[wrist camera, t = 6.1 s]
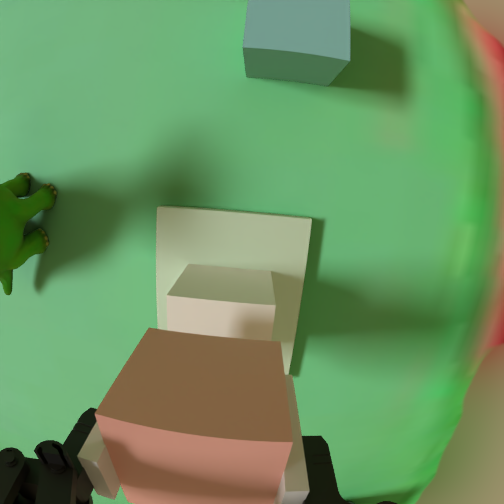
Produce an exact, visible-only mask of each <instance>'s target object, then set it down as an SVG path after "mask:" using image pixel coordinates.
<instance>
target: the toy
mask: <svg viewBox="0 0 504 504" xmlns="http://www.w3.org/2000/svg"><path fill="white" fill-rule="evenodd" d="M29 189H30V177H29V176H28V174H27V173H20V174H18V175H17V176H16V177H15V178H14V179H12V180H9V181H7V182H5V183H3V184H0V281H1V283H2V284H3V289H4V292H5V294H6V295H10V294H11V292H12V280H13V269H17V268H18V267H20V266H21V265H22V264H24V263H25V261H26V260H27V259H28V258H29V257H31V256H33V255H35V254H41V253H43V252H44V251H45V250H46V247H47V246H48V245H49V242H48V240H47V236H46V235H45V232H44V231H42V230H41V229H37V230H34V231H32V232H31V233H29V234H26V235H24V234H23V231H24V227H25V225H26V223H27V222H28V221H29V220H30V219H31V218H32V217H33V216H35V215H36V214H37V213H39V212H40V211H41V210H49V209H51V208H52V207H53V206H54V203H55V199H56V194H57V192H56V191H55V189H54V187H53V186H51V185H50V184H49V183H48V184H43V185H42V186H41V188H40V189H39V190H38V191H37V192H36V193H34V194H33V195H31V196H30V197H29V198H26V199H19V198H21V197H24V196H26V195H27V193H28V192H29Z"/></svg>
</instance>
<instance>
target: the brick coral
mask: <svg viewBox="0 0 504 504" xmlns="http://www.w3.org/2000/svg"><path fill="white" fill-rule="evenodd" d="M95 417H96V420H97V423H98V426H99V429H100V432H101V435H102V438H103V441H104V444H105V445H106V447H107V450H108V453H109V456H110V458H111V461H112V463H113V466H114V469H115V471H116V474H117V476H118V478H119V481H120V483H121V487H122V489H123V492H124V494H125V496H126V498H127V501H128V502H130V503H134V504H273V503H274V500H275V497H276V494H277V491H278V488H279V485H280V482H281V478H282V475H283V472H284V471H285V468H286V464H287V461H288V458H289V454H290V451H291V447H292V444H293V438H292V430H291V421H290V413H289V405H288V396H287V388H286V380H285V372H284V364H283V357H282V349H281V342H280V341H265V340H251V339H240V338H229V337H219V336H209V335H200V334H192V333H184V332H176V331H168V330H161V329H154V328H148V330H147V331H146V333H145V334H144V336H143V338H142V339H141V341H140V342H139V344H138V345H137V347H136V348H135V350H134V351H133V353H132V354H131V356H130V358H129V359H128V361H127V362H126V364H125V365H124V367H123V369H122V370H121V372H120V373H119V375H118V376H117V378H116V380H115V381H114V383H113V384H112V386H111V388H110V389H109V391H108V392H107V394H106V396H105V397H104V399H103V401H102V402H101V404H100V405H99V407H98V409H97V410H96V412H95Z"/></svg>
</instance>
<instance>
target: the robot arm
mask: <svg viewBox="0 0 504 504" xmlns="http://www.w3.org/2000/svg"><path fill="white" fill-rule="evenodd" d="M285 380H286V388H287V396H288V405H289V413H290V421H291V430H292V438H293V444H292V447H291V451H290V454H289V458H288V461H287V464H286V468H285V471H284V472H283V475H282V478H281V482H280V485H279V488H278V491H277V494H276V497H275V500H274V503H273V504H351V503H349V502H347V501H345V500H344V499H343V498H342V497H341V496H340V494H339V491H338V487H337V483H336V478H335V473H334V469H333V464H332V460H331V456H330V451H329V447H328V444H327V443H326V441H325V440H324V439H323V438H322V436H302V435H301V428H300V422H299V415H298V409H297V402H296V396H295V389H294V383H293V377H292V375H285ZM96 410H97V409H95V408H90V409H88V410H87V411H85V412H84V413H83V414H82V415H81V417H80V418H79V420H78V421H77V423H76V424H75V426H74V428H73V430H72V431H71V432H70V434H69V436H68V437H67V439H66V441H65V442H64V444H63V445H62V444H61V443H59V442H57V441H53V440H46V441H43V442H41V443H40V444H38V445H37V446H36V448H35V450H34V452H35V453H36V455H37V457H38V458H39V459H33V458H27V457H24V455H23V454H22V452H21V451H19V450H18V449H16V448H12V447H11V448H5V449H3V450H1V451H0V504H93V500H92V496H91V493H92V490H93V488H94V489H95V491H96V493H97V494H98V495H101V496H104V497H107V498H110V499H114V500H115V498H116V495H117V492H118V490H119V487H120V485H121V483H120V481H119V478H118V476H117V474H116V471H115V469H114V466H113V463H112V461H111V458H110V456H109V453H108V450H107V447H106V445H105V444H104V441H103V438H102V435H101V432H100V429H99V426H98V423H97V420H96V417H95V412H96ZM377 504H397V503H394V502H391V501H383V502H380V503H377Z"/></svg>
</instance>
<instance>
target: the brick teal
mask: <svg viewBox="0 0 504 504" xmlns="http://www.w3.org/2000/svg"><path fill="white" fill-rule="evenodd" d="M243 54H244V63H245V71H246V77H251V78H265V79H276V80H285V81H294V82H302V83H309V84H316V85H322V86H329V84H330V83H331V82H332V81H333V80H334V79H335V78H336V76H337V75H338V74H339V73H340V72H341V71H342V70H343V69H344V67H345V66H346V65H347V64H348V63H349V62H350V0H248V5H247V13H246V22H245V31H244V40H243Z"/></svg>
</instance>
